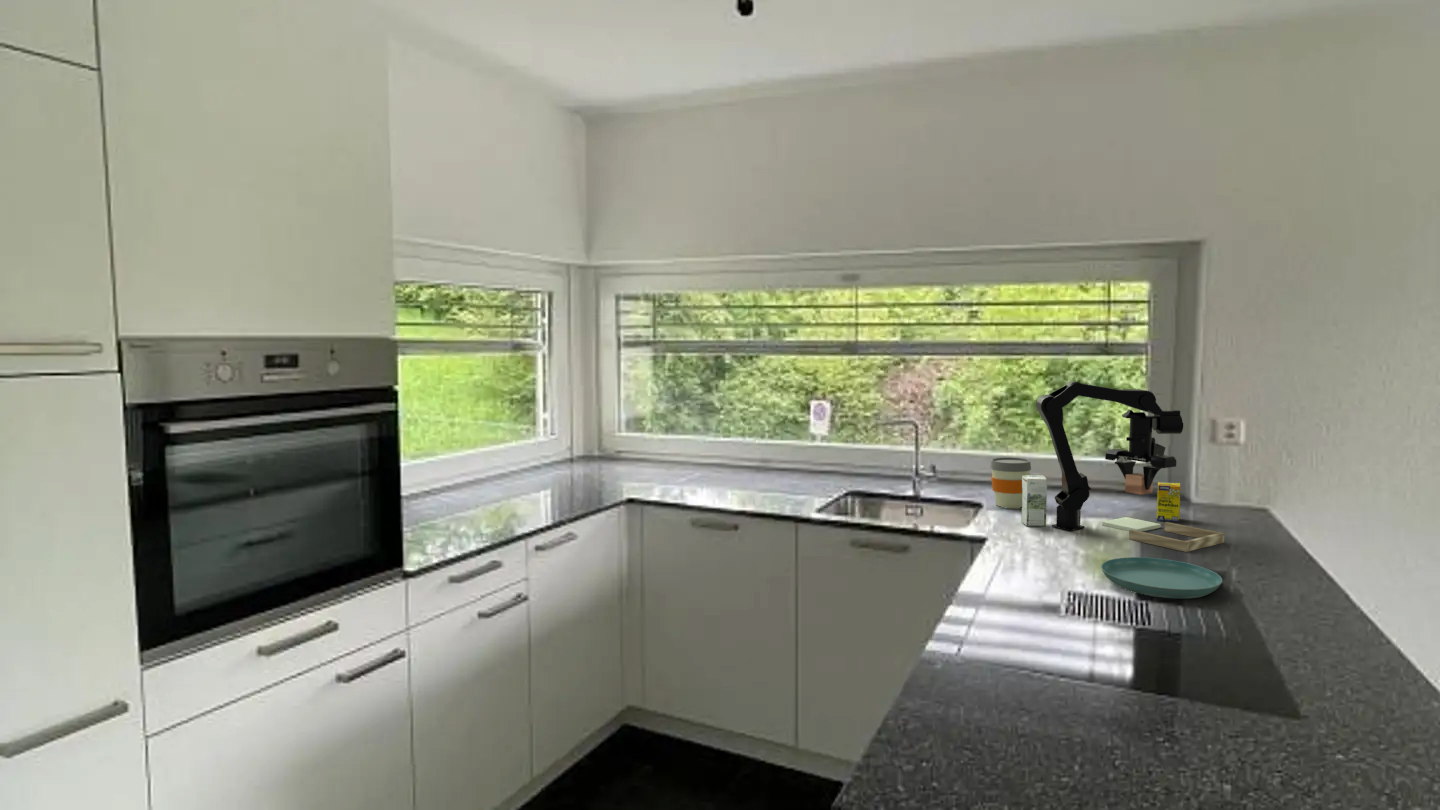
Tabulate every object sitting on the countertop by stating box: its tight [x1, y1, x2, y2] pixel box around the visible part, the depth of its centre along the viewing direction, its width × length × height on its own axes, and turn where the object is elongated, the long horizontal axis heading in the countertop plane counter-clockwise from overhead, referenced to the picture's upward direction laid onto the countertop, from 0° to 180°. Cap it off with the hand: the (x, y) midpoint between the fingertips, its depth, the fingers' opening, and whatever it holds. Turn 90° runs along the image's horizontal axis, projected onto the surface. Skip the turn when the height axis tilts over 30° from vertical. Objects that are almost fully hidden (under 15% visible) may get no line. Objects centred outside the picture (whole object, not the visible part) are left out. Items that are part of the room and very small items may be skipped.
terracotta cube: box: [1124, 472, 1154, 496], centre depth 238 cm, size 5×5×5 cm
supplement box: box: [1156, 481, 1181, 524], centre depth 248 cm, size 6×6×11 cm
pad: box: [1101, 516, 1162, 532], centre depth 242 cm, size 11×11×1 cm
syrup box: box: [1021, 474, 1048, 527], centre depth 246 cm, size 6×6×14 cm
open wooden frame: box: [1128, 521, 1225, 553], centre depth 225 cm, size 17×16×2 cm
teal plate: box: [1100, 556, 1223, 600], centre depth 188 cm, size 24×24×3 cm
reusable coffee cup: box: [990, 456, 1032, 509], centre depth 272 cm, size 13×12×15 cm
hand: (1138, 488), depth 238 cm, fingers closed on terracotta cube, 5 cm apart
